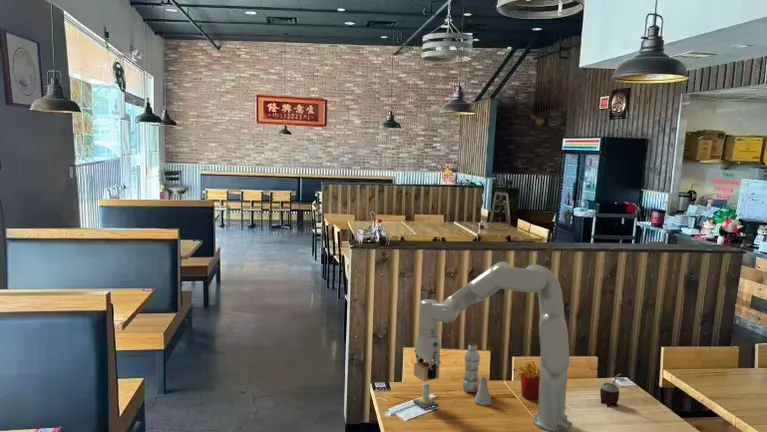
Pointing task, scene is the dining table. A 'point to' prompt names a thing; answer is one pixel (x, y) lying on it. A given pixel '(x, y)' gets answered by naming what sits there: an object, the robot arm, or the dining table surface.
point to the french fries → (530, 382)
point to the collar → (424, 371)
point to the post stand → (425, 399)
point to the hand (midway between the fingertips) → (426, 374)
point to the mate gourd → (609, 393)
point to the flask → (483, 393)
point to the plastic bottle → (471, 369)
